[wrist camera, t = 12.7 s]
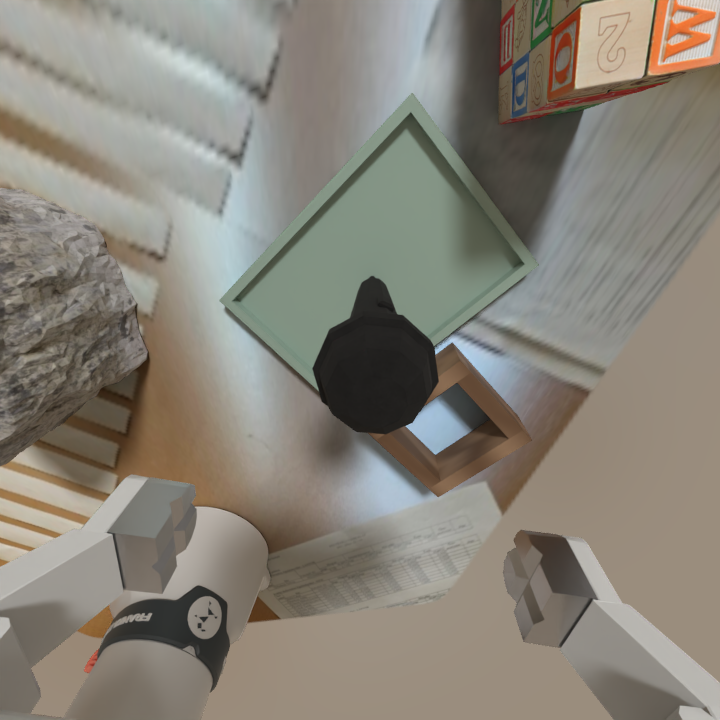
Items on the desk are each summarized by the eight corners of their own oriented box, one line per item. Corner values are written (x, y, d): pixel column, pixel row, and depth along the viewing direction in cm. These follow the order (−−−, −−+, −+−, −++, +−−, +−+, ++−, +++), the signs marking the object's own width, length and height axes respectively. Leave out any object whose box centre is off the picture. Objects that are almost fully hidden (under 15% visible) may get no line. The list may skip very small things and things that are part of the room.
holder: (433, 470, 42) (437, 497, 38) (366, 407, 39) (365, 430, 35) (517, 415, 39) (532, 440, 35) (452, 342, 35) (460, 360, 32)
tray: (346, 406, 39) (345, 415, 38) (225, 295, 35) (219, 300, 33) (531, 261, 32) (539, 265, 30) (410, 97, 27) (412, 92, 26)
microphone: (415, 261, 32) (476, 372, 14) (386, 319, 34) (405, 479, 16) (356, 234, 31) (340, 314, 13) (330, 295, 33) (286, 436, 15)
